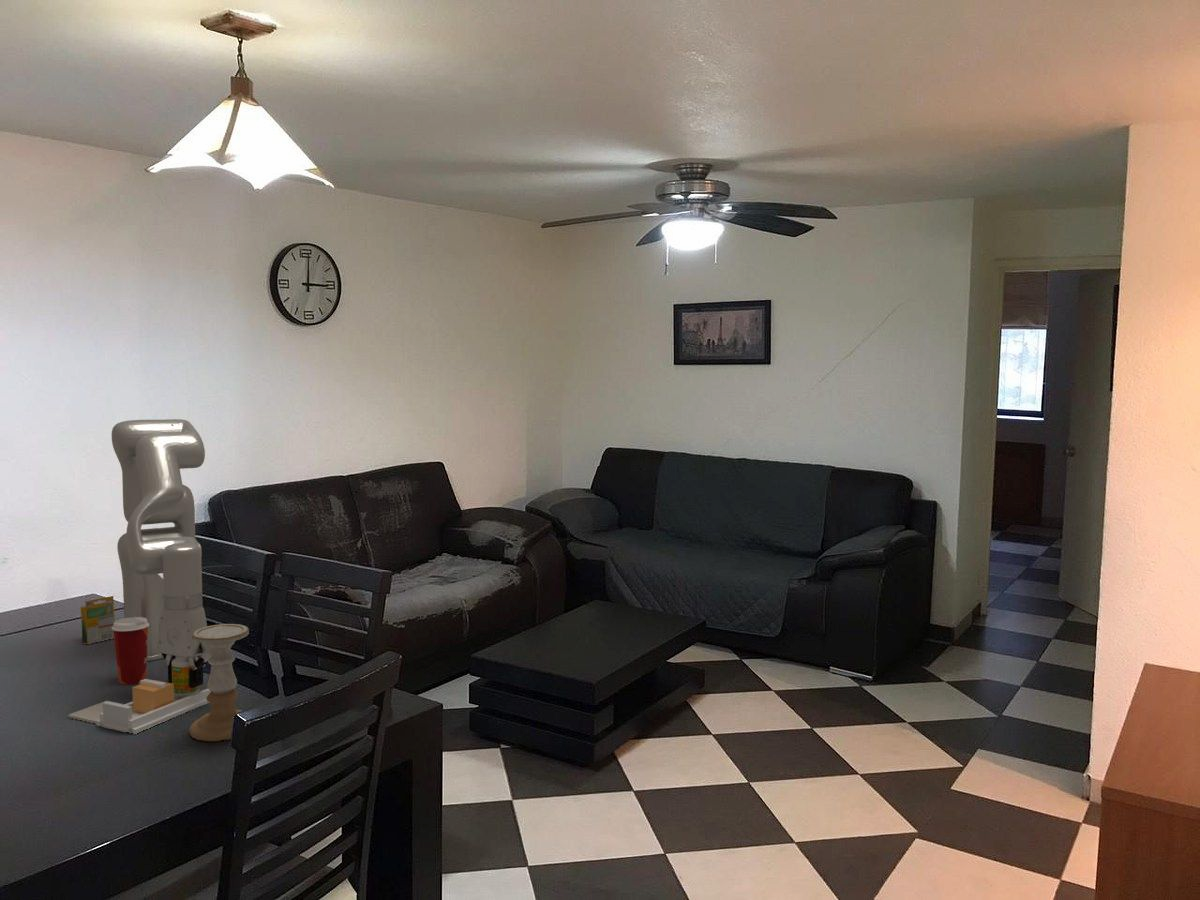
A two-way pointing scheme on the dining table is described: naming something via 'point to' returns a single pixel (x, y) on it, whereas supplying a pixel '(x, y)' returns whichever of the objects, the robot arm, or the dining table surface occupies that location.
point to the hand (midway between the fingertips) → (185, 683)
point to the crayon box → (97, 620)
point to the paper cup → (131, 649)
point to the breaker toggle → (152, 695)
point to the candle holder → (219, 681)
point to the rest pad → (89, 713)
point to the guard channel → (136, 721)
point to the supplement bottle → (182, 677)
